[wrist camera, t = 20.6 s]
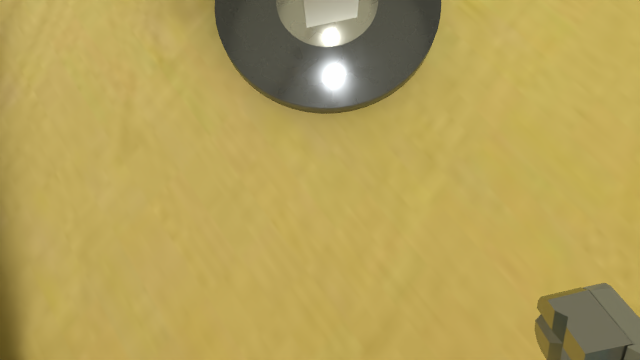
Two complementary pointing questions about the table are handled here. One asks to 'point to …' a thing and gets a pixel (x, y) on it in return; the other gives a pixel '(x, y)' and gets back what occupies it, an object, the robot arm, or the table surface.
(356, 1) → the off-white block
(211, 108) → the table surface
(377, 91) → the turntable
